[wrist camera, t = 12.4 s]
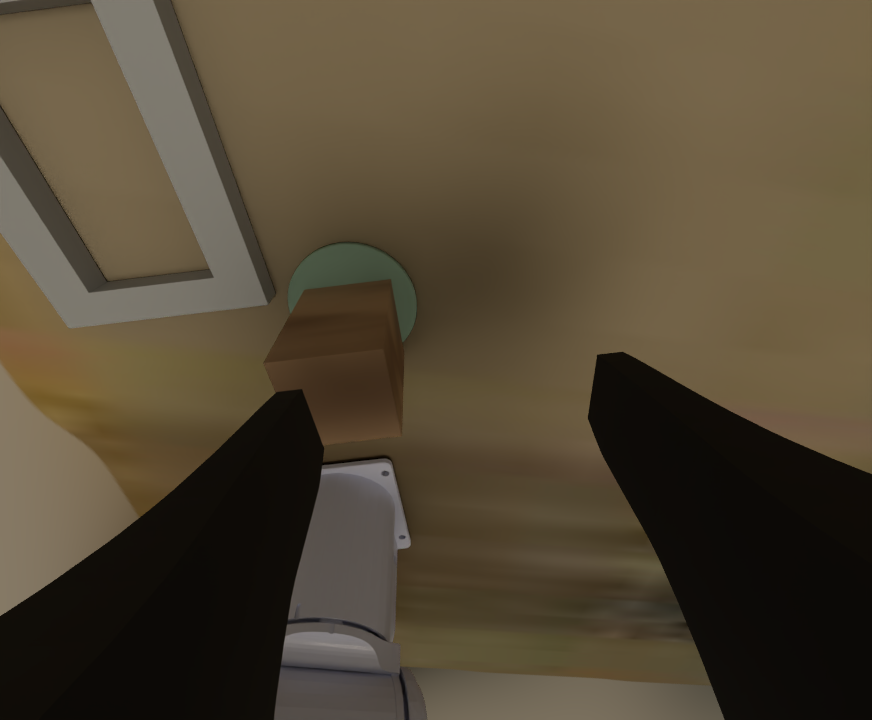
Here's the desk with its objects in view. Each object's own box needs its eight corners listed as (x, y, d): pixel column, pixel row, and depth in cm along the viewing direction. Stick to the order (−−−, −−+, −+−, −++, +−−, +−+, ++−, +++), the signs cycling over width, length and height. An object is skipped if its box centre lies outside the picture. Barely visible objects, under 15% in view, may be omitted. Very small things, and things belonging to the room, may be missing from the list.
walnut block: (404, 352, 20) (402, 436, 15) (326, 361, 20) (299, 448, 15) (390, 278, 18) (383, 349, 13) (304, 289, 18) (263, 363, 13)
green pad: (423, 349, 21) (423, 353, 20) (310, 362, 21) (308, 366, 20) (407, 234, 17) (407, 236, 17) (272, 250, 17) (269, 253, 17)
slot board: (275, 293, 18) (267, 304, 17) (87, 315, 19) (69, 328, 18) (143, -75, 12) (118, -91, 11) (-150, -36, 12) (-200, -48, 11)
